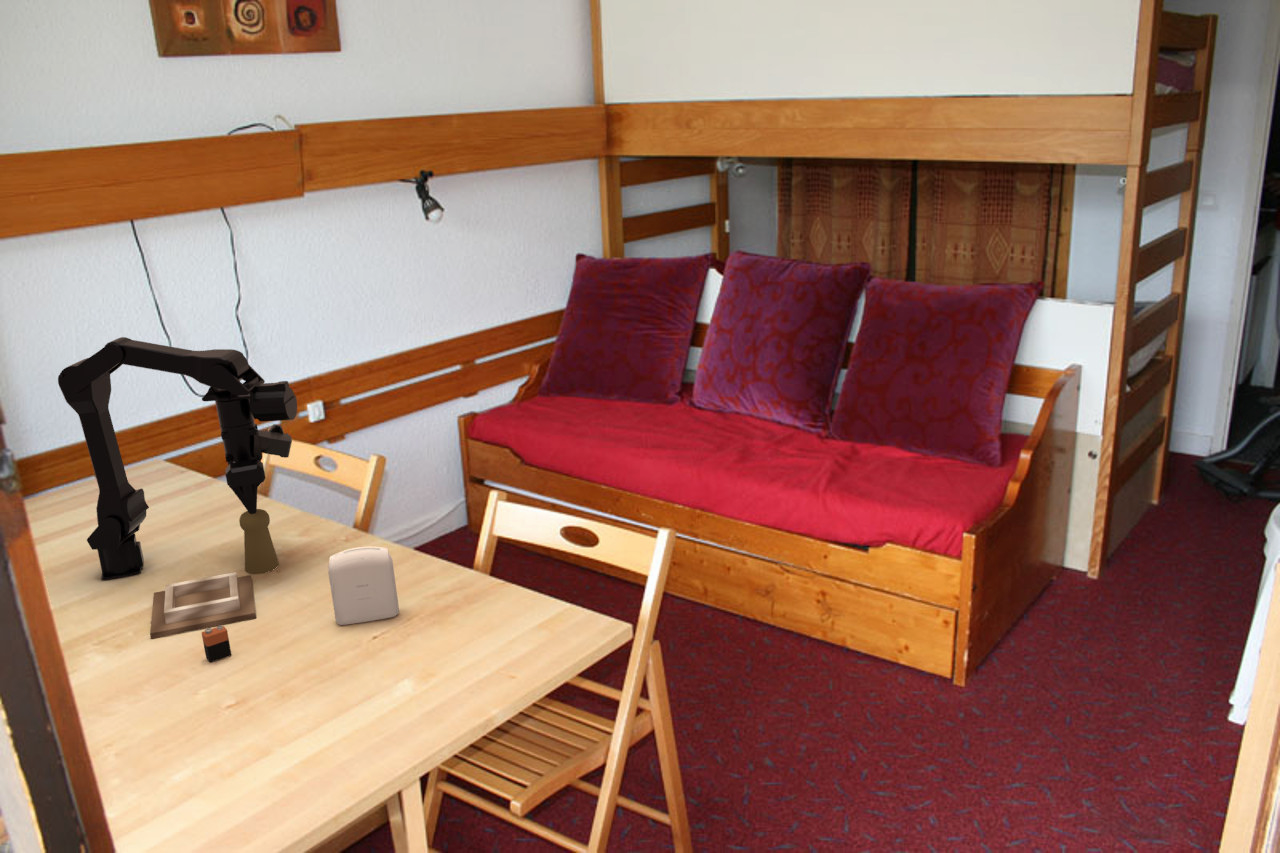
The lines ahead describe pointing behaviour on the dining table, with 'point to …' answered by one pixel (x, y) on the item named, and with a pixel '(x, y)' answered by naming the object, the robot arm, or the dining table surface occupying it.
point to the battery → (216, 643)
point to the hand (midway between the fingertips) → (252, 505)
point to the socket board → (202, 604)
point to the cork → (258, 543)
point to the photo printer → (363, 585)
